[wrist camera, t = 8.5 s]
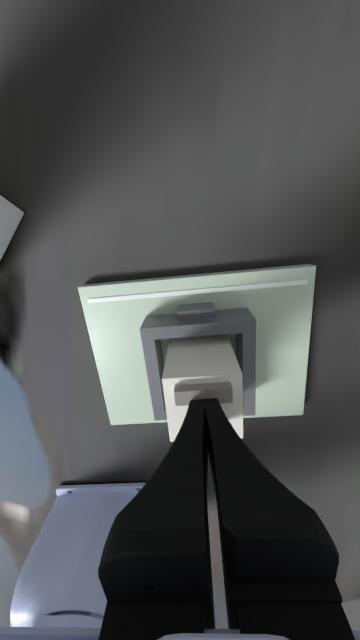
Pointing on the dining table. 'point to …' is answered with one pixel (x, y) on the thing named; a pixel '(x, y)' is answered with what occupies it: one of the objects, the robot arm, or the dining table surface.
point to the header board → (202, 320)
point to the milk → (8, 223)
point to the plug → (202, 379)
